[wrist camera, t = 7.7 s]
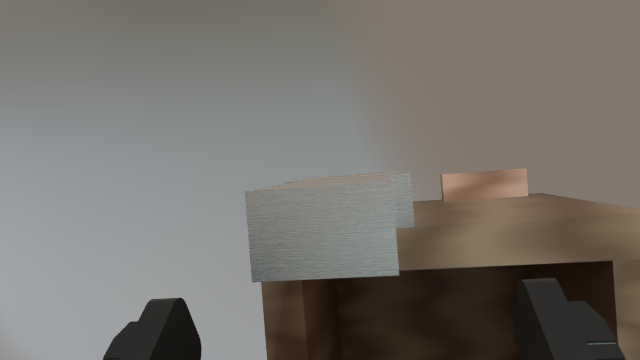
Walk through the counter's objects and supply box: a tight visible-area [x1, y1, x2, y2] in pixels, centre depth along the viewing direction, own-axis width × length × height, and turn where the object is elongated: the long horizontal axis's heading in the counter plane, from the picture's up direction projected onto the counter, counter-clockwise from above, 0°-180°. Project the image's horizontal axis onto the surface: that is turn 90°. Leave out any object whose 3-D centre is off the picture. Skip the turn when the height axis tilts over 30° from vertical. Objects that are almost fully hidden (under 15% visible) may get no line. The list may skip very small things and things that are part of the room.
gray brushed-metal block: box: [245, 171, 414, 282], centre depth 24 cm, size 6×22×2 cm, turn 173°
